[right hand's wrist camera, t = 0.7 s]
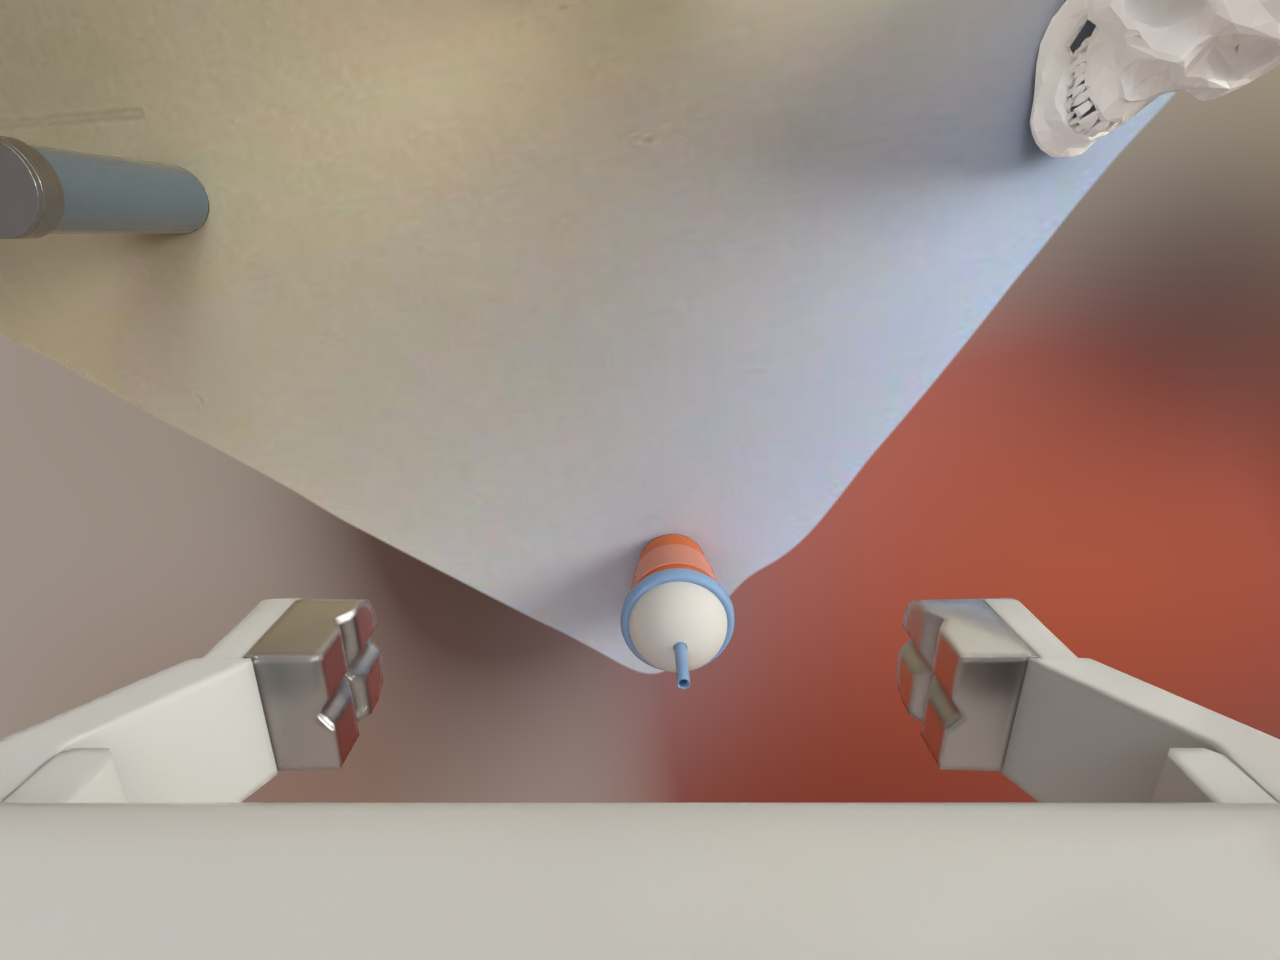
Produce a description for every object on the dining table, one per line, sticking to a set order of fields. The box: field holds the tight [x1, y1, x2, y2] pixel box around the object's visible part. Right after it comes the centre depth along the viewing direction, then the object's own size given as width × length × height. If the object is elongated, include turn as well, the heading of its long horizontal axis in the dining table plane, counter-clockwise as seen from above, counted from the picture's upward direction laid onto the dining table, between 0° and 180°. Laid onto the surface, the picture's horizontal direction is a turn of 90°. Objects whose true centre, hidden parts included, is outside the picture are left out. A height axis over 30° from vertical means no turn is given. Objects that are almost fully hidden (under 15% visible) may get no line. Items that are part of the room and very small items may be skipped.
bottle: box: [29, 145, 209, 234], centre depth 45 cm, size 5×5×16 cm
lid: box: [0, 136, 65, 239], centre depth 38 cm, size 5×5×2 cm
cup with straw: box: [621, 534, 735, 689], centre depth 55 cm, size 9×9×18 cm
